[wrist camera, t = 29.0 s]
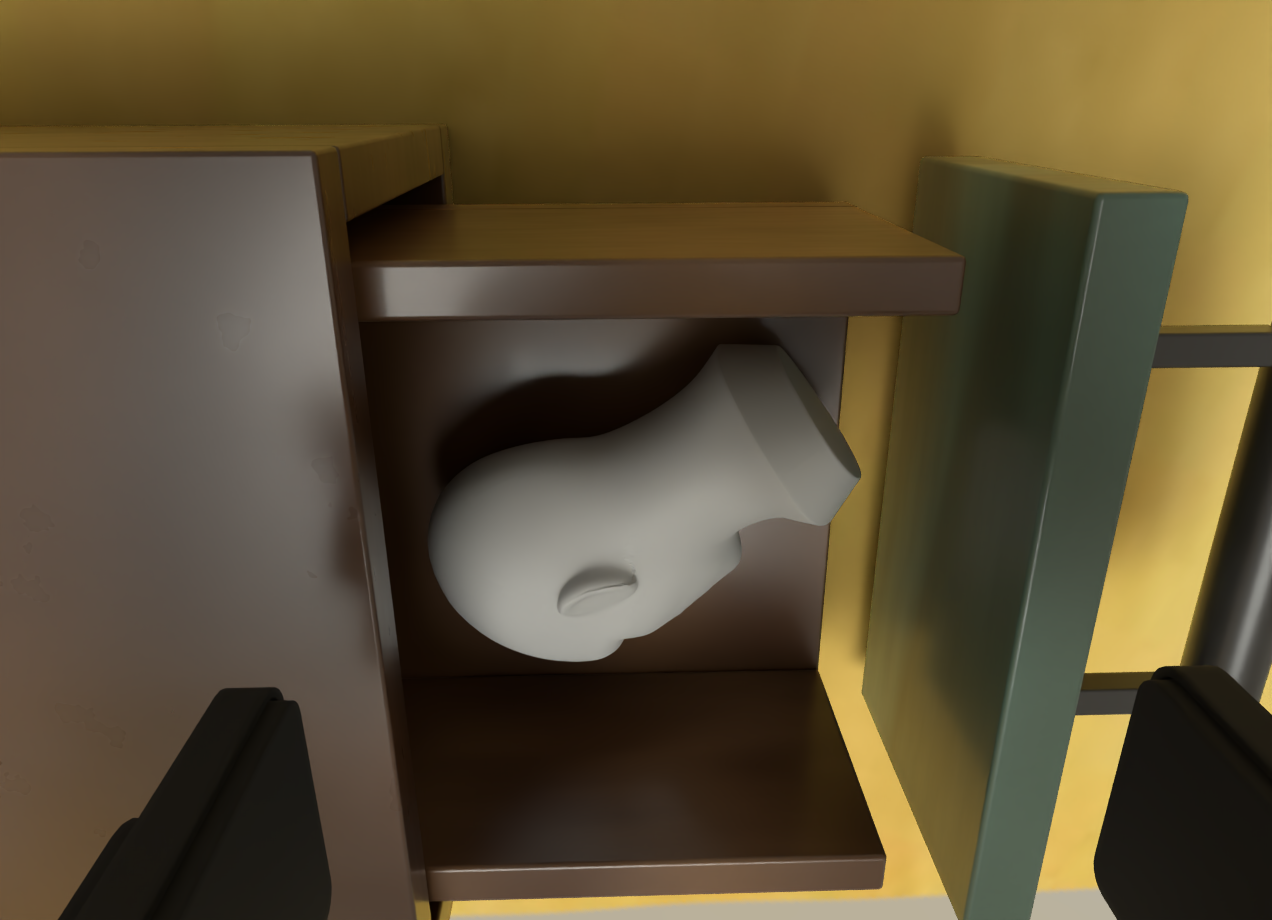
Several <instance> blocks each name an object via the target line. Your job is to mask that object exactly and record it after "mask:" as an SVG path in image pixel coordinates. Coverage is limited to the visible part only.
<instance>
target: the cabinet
mask: <svg viewBox="0 0 1272 920" xmlns="http://www.w3.org/2000/svg"><path fill="white" fill-rule="evenodd" d="M446 204H453V191H452V178H451V165H450V152H449V139H448V128H447V125H445V124H340V125H133V126H0V920H58V918H59V917H60V915H61V914H62V912H63V911H64V909H65V908H66V906H67V905H68V903H69V901H70V900H71V898H72V897H73V895H74V894H75V892H76V891H77V889H78V888H79V886H80V885H81V883H82V881H83V880H84V878H85V877H86V875H87V874H88V872H89V871H90V869H91V868H92V866H93V865H94V863H95V861H96V860H97V858H98V857H99V855H100V854H101V852H102V851H103V849H104V848H105V846H106V844H107V843H108V841H109V840H110V838H111V837H112V836H113V834H114V833H115V832H116V831H117V830H118V828H119V827H120V826H121V825H122V824H123V823H125V822H126V821H128V820H130V819H131V818H139V816H140V814H141V813H142V811H143V810H144V808H145V806H146V805H147V803H148V802H149V800H150V799H151V797H152V795H153V794H154V792H155V791H156V789H157V787H158V786H159V784H160V783H161V781H162V779H163V778H164V776H165V775H166V773H167V772H168V770H169V768H170V767H171V765H172V764H173V762H174V760H175V759H176V757H177V756H178V754H179V752H180V751H181V749H182V748H183V746H184V745H185V743H186V741H187V740H188V738H189V737H190V735H191V733H192V732H193V730H194V729H195V727H196V725H197V724H198V722H199V721H200V719H201V718H202V716H203V714H204V713H205V711H206V710H207V708H208V706H209V705H210V703H211V702H212V700H213V698H214V697H215V696H216V694H217V693H218V692H219V691H220V690H222V689H224V688H251V687H276V688H278V689H279V690H280V691H281V693H282V695H283V698H284V700H294V701H296V702H297V703H298V705H299V708H300V711H301V716H302V722H303V727H304V733H305V738H306V744H307V749H308V755H309V760H310V766H311V771H312V777H313V782H314V788H315V793H316V799H317V804H318V810H319V815H320V821H321V826H322V832H323V837H324V843H325V848H326V853H327V859H328V864H329V870H330V875H331V883H332V896H331V905H330V910H329V915H328V918H327V920H449V919H450V914H451V908H452V903H453V901H434V902H429V898H428V889H427V881H426V873H425V865H424V857H423V848H422V840H421V832H420V824H419V816H418V807H417V799H416V791H415V783H414V775H413V767H412V758H411V750H410V742H409V734H408V726H407V717H406V709H405V701H404V693H403V685H402V676H401V668H400V660H399V652H398V644H397V635H396V627H395V619H394V611H393V603H392V595H391V586H390V578H389V570H388V562H387V554H386V545H385V537H384V529H383V521H382V513H381V504H380V496H379V488H378V480H377V472H376V463H375V455H374V447H373V439H372V431H371V423H370V414H369V406H368V398H367V390H366V382H365V373H364V365H363V357H362V349H361V341H360V332H359V324H358V316H357V308H356V300H355V292H354V283H353V275H352V267H351V259H350V251H349V242H348V234H347V226H346V222H348V221H350V220H352V219H354V218H356V217H358V216H360V215H362V214H364V213H366V212H368V211H370V210H372V209H374V208H376V207H378V206H380V205H446Z"/></svg>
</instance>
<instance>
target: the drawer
mask: <svg viewBox="0 0 1272 920" xmlns="http://www.w3.org/2000/svg"><path fill="white" fill-rule="evenodd" d="M1187 205H1188V195H1187V194H1186V193H1184V192H1182V191H1178V190H1172V189H1166V188H1160V187H1154V186H1148V185H1143V184H1137V183H1131V182H1125V181H1119V180H1113V179H1108V178H1102V177H1096V176H1090V175H1084V174H1078V173H1073V172H1067V171H1061V170H1055V169H1049V168H1044V167H1038V166H1032V165H1026V164H1020V163H1014V162H1009V161H1003V160H997V159H991V158H985V157H979V156H925V157H923V158H921V161H920V166H919V175H918V184H917V193H916V202H915V212H914V221H913V230H912V232H910V231H908V230H905V229H903V228H901V227H899V226H897V225H894V224H892V223H890V222H888V221H886V220H884V219H881V218H879V217H877V216H875V215H873V214H871V213H868V212H866V211H864V210H862V209H860V208H857V206H854V205H852V204H850V203H848V202H724V203H585V204H446V205H380V206H378V207H376V208H374V209H372V210H370V211H368V212H366V213H364V214H362V215H360V216H358V217H356V218H354V219H352V220H350V221H348V222H346V226H347V234H348V242H349V251H350V259H351V267H352V275H353V283H354V292H355V300H356V308H357V316H358V324H359V332H360V341H361V349H362V357H363V365H364V373H365V382H366V390H367V398H368V406H369V414H370V423H371V431H372V439H373V447H374V455H375V463H376V472H377V480H378V488H379V496H380V504H381V513H382V521H383V529H384V537H385V545H386V554H387V562H388V570H389V578H390V586H391V595H392V603H393V611H394V619H395V627H396V635H397V644H398V652H399V660H400V668H401V676H402V685H403V693H404V701H405V709H406V717H407V726H408V734H409V742H410V750H411V758H412V767H413V775H414V783H415V791H416V799H417V807H418V816H419V824H420V832H421V840H422V848H423V857H424V865H425V873H426V881H427V889H428V898H429V902H434V901H470V900H506V899H543V898H579V897H615V896H651V895H688V894H724V893H760V892H796V891H833V890H869V889H880V888H882V886H883V879H884V871H885V864H886V854H885V851H884V849H883V846H882V843H881V840H880V838H879V835H878V832H877V830H876V827H875V824H874V821H873V819H872V816H871V813H870V810H869V808H868V805H867V802H866V800H865V797H864V794H863V791H862V789H861V786H860V783H859V780H858V778H857V775H856V772H855V769H854V767H853V764H852V761H851V759H850V756H849V753H848V750H847V748H846V745H845V742H844V739H843V737H842V734H841V731H840V728H839V726H838V723H837V720H836V718H835V715H834V712H833V709H832V707H831V704H830V701H829V698H828V696H827V693H826V690H825V688H824V685H823V682H822V679H821V677H820V674H819V671H818V662H819V651H820V639H821V628H822V616H823V605H824V593H825V582H826V570H827V559H828V547H829V536H830V524H831V521H830V522H829V523H828V524H827V525H823V526H818V525H813V524H808V523H803V522H799V521H794V520H790V519H786V518H772V519H767V520H763V521H759V522H756V523H754V524H751V525H749V526H747V527H745V528H743V529H741V530H739V535H740V539H741V545H742V554H741V559H740V561H739V563H738V565H737V566H736V567H735V569H733V570H732V571H731V572H729V573H728V574H727V575H726V576H724V577H723V578H722V579H721V580H719V581H718V582H717V583H716V584H714V585H713V586H712V587H711V588H710V589H709V590H708V591H707V592H706V593H704V594H703V595H702V596H701V597H699V598H698V599H697V600H696V601H694V602H693V603H692V604H691V605H690V606H689V607H687V608H686V609H685V610H684V611H683V612H682V613H681V614H679V615H678V616H676V617H674V618H673V619H671V620H670V621H668V622H667V623H666V624H664V625H663V626H661V627H660V628H658V629H657V630H655V631H654V632H652V633H650V634H647V635H644V636H640V637H635V638H628V639H624V640H623V642H622V643H621V645H620V646H619V648H618V649H617V650H616V651H615V652H613V653H612V654H610V655H608V656H607V657H604V658H602V659H598V660H593V661H580V662H570V661H557V660H548V659H543V658H538V657H534V656H530V655H526V654H523V653H520V652H517V651H514V650H512V649H509V648H507V647H505V646H503V645H501V644H499V643H497V642H495V641H493V640H491V639H490V638H488V637H487V636H485V635H484V634H482V633H481V632H479V631H478V630H477V629H475V628H474V627H473V626H472V625H471V624H469V623H468V622H467V621H466V620H465V619H464V618H463V617H462V616H461V615H460V614H459V613H458V612H457V611H456V610H455V609H454V607H453V606H452V605H451V604H450V602H449V601H448V599H447V597H446V596H445V594H444V593H443V591H442V589H441V587H440V585H439V583H438V581H437V579H436V576H435V574H434V571H433V568H432V565H431V562H430V558H429V551H428V527H429V522H430V518H431V514H432V511H433V508H434V506H435V504H436V502H437V499H438V498H439V496H440V494H441V493H442V491H443V490H444V488H445V487H446V486H447V485H448V484H449V482H450V481H451V480H452V479H453V478H454V477H455V476H456V475H457V474H459V473H460V472H461V471H462V470H463V469H465V468H466V467H468V466H469V465H470V464H472V463H474V462H476V461H477V460H479V459H481V458H483V457H486V456H488V455H490V454H493V453H496V452H499V451H502V450H505V449H508V448H512V447H516V446H520V445H524V444H529V443H534V442H540V441H546V440H554V439H564V438H583V437H593V436H598V435H602V434H605V433H608V432H611V431H613V430H616V429H618V428H620V427H623V426H625V425H627V424H629V423H631V422H633V421H635V420H637V419H639V418H641V417H642V416H644V415H646V414H648V413H649V412H651V411H653V410H654V409H656V408H658V407H659V406H661V405H662V404H664V403H665V402H667V401H668V400H670V399H671V398H672V397H674V396H675V395H676V394H678V393H679V392H680V391H681V390H682V389H684V388H685V387H686V386H687V385H688V384H689V383H690V382H691V381H692V380H693V379H694V378H695V377H696V376H697V374H698V373H699V372H700V371H701V369H702V368H703V367H704V365H705V364H706V362H707V361H708V360H709V358H710V357H711V355H712V354H713V352H714V351H715V349H716V348H717V346H718V345H720V344H743V345H777V346H780V347H781V348H782V349H783V350H784V351H785V352H786V353H787V355H788V356H789V357H790V358H791V359H792V361H793V362H794V363H795V365H796V366H797V367H798V369H799V370H800V371H801V373H802V374H803V376H804V377H805V378H806V380H807V381H808V383H809V384H810V386H811V387H812V388H813V390H814V391H815V393H816V394H817V396H818V397H819V399H820V400H821V402H822V403H823V405H824V406H825V408H826V409H827V411H828V412H829V414H830V415H831V417H832V418H833V420H834V422H835V423H836V425H837V426H838V428H839V420H840V409H841V397H842V386H843V374H844V362H845V351H846V339H847V328H848V317H858V316H903V321H902V330H901V339H900V348H899V357H898V366H897V375H896V385H895V394H894V403H893V412H892V421H891V430H890V439H889V448H888V457H887V466H886V476H885V485H884V494H883V503H882V512H881V521H880V530H879V539H878V548H877V558H876V567H875V576H874V585H873V594H872V603H871V612H870V621H869V630H868V639H867V649H866V658H865V667H864V676H863V685H862V694H863V697H864V699H865V702H866V704H867V706H868V709H869V711H870V713H871V716H872V718H873V720H874V723H875V725H876V727H877V730H878V732H879V735H880V737H881V739H882V742H883V744H884V746H885V749H886V751H887V753H888V756H889V758H890V760H891V763H892V765H893V767H894V770H895V772H896V775H897V777H898V779H899V782H900V784H901V786H902V789H903V791H904V793H905V796H906V798H907V800H908V803H909V805H910V807H911V810H912V812H913V815H914V817H915V819H916V822H917V824H918V826H919V829H920V831H921V833H922V836H923V838H924V840H925V843H926V845H927V847H928V850H929V852H930V855H931V857H932V859H933V862H934V864H935V866H936V869H937V871H938V873H939V876H940V878H941V880H942V883H943V885H944V887H945V890H946V892H947V895H948V897H949V899H950V902H951V904H952V906H953V909H954V911H955V913H956V916H957V918H958V920H1030V917H1031V913H1032V908H1033V903H1034V898H1035V894H1036V890H1037V885H1038V881H1039V876H1040V872H1041V867H1042V863H1043V858H1044V854H1045V849H1046V844H1047V840H1048V835H1049V831H1050V826H1051V822H1052V817H1053V813H1054V808H1055V804H1056V799H1057V795H1058V790H1059V785H1060V781H1061V776H1062V772H1063V767H1064V763H1065V758H1066V754H1067V749H1068V745H1069V740H1070V736H1071V731H1072V726H1073V722H1074V717H1075V715H1111V714H1132V710H1133V706H1134V702H1135V698H1136V694H1137V691H1138V688H1139V686H1140V685H1141V684H1142V683H1143V682H1144V681H1147V680H1151V677H1152V675H1153V673H1154V672H1116V673H1084V672H1085V667H1086V663H1087V658H1088V654H1089V649H1090V645H1091V640H1092V636H1093V631H1094V627H1095V622H1096V618H1097V613H1098V608H1099V604H1100V599H1101V595H1102V590H1103V586H1104V581H1105V577H1106V572H1107V568H1108V563H1109V559H1110V554H1111V549H1112V545H1113V540H1114V536H1115V531H1116V527H1117V522H1118V518H1119V513H1120V509H1121V504H1122V500H1123V495H1124V490H1125V486H1126V481H1127V477H1128V472H1129V468H1130V463H1131V459H1132V454H1133V450H1134V445H1135V441H1136V436H1137V431H1138V427H1139V422H1140V418H1141V413H1142V409H1143V404H1144V400H1145V395H1146V391H1147V386H1148V382H1149V377H1150V372H1151V368H1214V367H1260V368H1259V371H1258V375H1257V379H1256V383H1255V386H1254V390H1253V394H1252V398H1251V401H1250V405H1249V409H1248V413H1247V416H1246V420H1245V424H1244V428H1243V431H1242V435H1241V439H1240V443H1239V446H1238V450H1237V454H1236V458H1235V461H1234V465H1233V469H1232V472H1231V476H1230V480H1229V484H1228V487H1227V491H1226V495H1225V499H1224V502H1223V506H1222V510H1221V514H1220V517H1219V521H1218V525H1217V529H1216V532H1215V536H1214V540H1213V544H1212V547H1211V551H1210V555H1209V559H1208V562H1207V566H1206V570H1205V574H1204V577H1203V581H1202V585H1201V588H1200V592H1199V596H1198V600H1197V603H1196V607H1195V611H1194V615H1193V618H1192V622H1191V626H1190V630H1189V633H1188V637H1187V641H1186V645H1185V648H1184V652H1183V656H1182V660H1181V663H1180V666H1201V665H1212V666H1217V667H1220V668H1221V669H1223V670H1224V671H1226V672H1227V673H1228V674H1229V675H1230V676H1231V677H1232V678H1233V679H1235V680H1236V681H1237V682H1238V683H1239V684H1240V685H1241V686H1242V687H1243V688H1244V689H1245V690H1246V691H1247V692H1248V693H1249V694H1250V695H1251V696H1252V697H1253V698H1255V699H1256V700H1257V701H1258V702H1260V699H1261V696H1262V693H1263V689H1264V686H1265V683H1266V680H1267V677H1268V674H1269V670H1270V667H1271V664H1272V323H1271V326H1269V325H1195V326H1161V323H1162V318H1163V313H1164V309H1165V304H1166V300H1167V295H1168V291H1169V286H1170V282H1171V277H1172V273H1173V268H1174V264H1175V259H1176V254H1177V250H1178V245H1179V241H1180V236H1181V232H1182V227H1183V223H1184V218H1185V214H1186V209H1187Z"/></svg>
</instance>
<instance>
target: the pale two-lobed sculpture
mask: <svg viewBox="0 0 1272 920" xmlns="http://www.w3.org/2000/svg"><path fill="white" fill-rule="evenodd" d="M860 478H861V471H860V468H859V466H858V463H857V461H856V459H855V457H854V455H853V453H852V451H851V449H850V447H849V445H848V444H847V442H846V440H845V438H844V437H843V435H842V433H841V431H840V430H839V428H838V426H837V425H836V423H835V422H834V420H833V418H832V417H831V415H830V414H829V412H828V411H827V409H826V408H825V406H824V405H823V403H822V402H821V400H820V399H819V397H818V396H817V394H816V393H815V391H814V390H813V388H812V387H811V386H810V384H809V383H808V381H807V380H806V378H805V377H804V376H803V374H802V373H801V371H800V370H799V369H798V367H797V366H796V365H795V363H794V362H793V361H792V359H791V358H790V357H789V356H788V355H787V353H786V352H785V351H784V350H783V349H782V348H781V347H780V346H777V345H743V344H720V345H718V346H717V348H716V349H715V351H714V352H713V354H712V355H711V357H710V358H709V360H708V361H707V362H706V364H705V365H704V367H703V368H702V369H701V371H700V372H699V373H698V374H697V376H696V377H695V378H694V379H693V380H692V381H691V382H690V383H689V384H688V385H687V386H686V387H685V388H684V389H682V390H681V391H680V392H679V393H678V394H676V395H675V396H674V397H672V398H671V399H670V400H668V401H667V402H665V403H664V404H662V405H661V406H659V407H658V408H656V409H654V410H653V411H651V412H649V413H648V414H646V415H644V416H642V417H641V418H639V419H637V420H635V421H633V422H631V423H629V424H627V425H625V426H623V427H620V428H618V429H616V430H613V431H611V432H608V433H605V434H602V435H598V436H593V437H583V438H564V439H554V440H546V441H540V442H534V443H529V444H524V445H520V446H516V447H512V448H508V449H505V450H502V451H499V452H496V453H493V454H490V455H488V456H486V457H483V458H481V459H479V460H477V461H476V462H474V463H472V464H470V465H469V466H468V467H466V468H465V469H463V470H462V471H461V472H460V473H459V474H457V475H456V476H455V477H454V478H453V479H452V480H451V481H450V482H449V484H448V485H447V486H446V487H445V488H444V490H443V491H442V493H441V494H440V496H439V498H438V499H437V502H436V504H435V506H434V508H433V511H432V514H431V518H430V522H429V527H428V551H429V558H430V562H431V565H432V568H433V571H434V574H435V576H436V579H437V581H438V583H439V585H440V587H441V589H442V591H443V593H444V594H445V596H446V597H447V599H448V601H449V602H450V604H451V605H452V606H453V607H454V609H455V610H456V611H457V612H458V613H459V614H460V615H461V616H462V617H463V618H464V619H465V620H466V621H467V622H468V623H469V624H471V625H472V626H473V627H474V628H475V629H477V630H478V631H479V632H481V633H482V634H484V635H485V636H487V637H488V638H490V639H491V640H493V641H495V642H497V643H499V644H501V645H503V646H505V647H507V648H509V649H512V650H514V651H517V652H520V653H523V654H526V655H530V656H534V657H538V658H543V659H548V660H557V661H570V662H580V661H593V660H598V659H602V658H604V657H607V656H608V655H610V654H612V653H613V652H615V651H616V650H617V649H618V648H619V646H620V645H621V643H622V642H623V640H624V639H628V638H635V637H640V636H644V635H647V634H650V633H652V632H654V631H655V630H657V629H658V628H660V627H661V626H663V625H664V624H666V623H667V622H668V621H670V620H671V619H673V618H674V617H676V616H678V615H679V614H681V613H682V612H683V611H684V610H685V609H686V608H687V607H689V606H690V605H691V604H692V603H693V602H694V601H696V600H697V599H698V598H699V597H701V596H702V595H703V594H704V593H706V592H707V591H708V590H709V589H710V588H711V587H712V586H713V585H714V584H716V583H717V582H718V581H719V580H721V579H722V578H723V577H724V576H726V575H727V574H728V573H729V572H731V571H732V570H733V569H735V567H736V566H737V565H738V563H739V561H740V559H741V554H742V545H741V539H740V535H739V530H741V529H743V528H745V527H747V526H749V525H751V524H754V523H756V522H759V521H763V520H767V519H772V518H786V519H790V520H794V521H799V522H803V523H808V524H813V525H818V526H823V525H827V524H828V523H829V522H830V521H831V520H832V519H833V517H834V516H835V514H836V513H837V511H838V510H839V509H840V507H841V506H842V504H843V503H844V501H845V500H846V498H847V497H848V495H849V494H850V493H851V491H852V490H853V488H854V487H855V485H856V484H857V482H858V481H859V479H860Z"/></svg>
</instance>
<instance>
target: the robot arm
mask: <svg viewBox="0 0 1272 920" xmlns="http://www.w3.org/2000/svg"><path fill="white" fill-rule="evenodd" d="M1094 873H1095V878H1096V882H1097V885H1098V887H1099V890H1100V892H1101V894H1102V896H1103V897H1104V899H1105V901H1106V902H1107V904H1108V905H1109V907H1110V909H1111V910H1112V912H1113V914H1114V915H1115V917H1116V918H1117V920H1272V715H1271V714H1270V713H1269V712H1268V711H1267V710H1266V709H1265V708H1264V707H1263V706H1262V705H1261V704H1260V703H1259V702H1258V701H1257V700H1256V699H1255V698H1253V697H1252V696H1251V695H1250V694H1249V693H1248V692H1247V691H1246V690H1245V689H1244V688H1243V687H1242V686H1241V685H1240V684H1239V683H1238V682H1237V681H1236V680H1235V679H1233V678H1232V677H1231V676H1230V675H1229V674H1228V673H1227V672H1226V671H1224V670H1223V669H1221V668H1220V667H1217V666H1212V665H1201V666H1164V667H1161V668H1158V669H1157V670H1156V671H1155V672H1154V673H1153V675H1152V677H1151V680H1147V681H1144V682H1143V683H1142V684H1141V685H1140V686H1139V688H1138V691H1137V694H1136V698H1135V702H1134V706H1133V710H1132V714H1131V717H1130V721H1129V725H1128V729H1127V733H1126V737H1125V741H1124V744H1123V748H1122V752H1121V756H1120V760H1119V764H1118V767H1117V771H1116V775H1115V779H1114V783H1113V787H1112V791H1111V794H1110V798H1109V802H1108V806H1107V810H1106V814H1105V817H1104V821H1103V825H1102V829H1101V833H1100V837H1099V841H1098V844H1097V848H1096V852H1095V856H1094ZM331 896H332V883H331V875H330V870H329V864H328V859H327V853H326V848H325V843H324V837H323V832H322V826H321V821H320V815H319V810H318V804H317V799H316V793H315V788H314V782H313V777H312V771H311V766H310V760H309V755H308V749H307V744H306V738H305V733H304V727H303V722H302V716H301V711H300V708H299V705H298V703H297V702H296V701H294V700H284V698H283V695H282V693H281V691H280V690H279V689H278V688H276V687H251V688H224V689H222V690H220V691H219V692H218V693H217V694H216V696H215V697H214V698H213V700H212V702H211V703H210V705H209V706H208V708H207V710H206V711H205V713H204V714H203V716H202V718H201V719H200V721H199V722H198V724H197V725H196V727H195V729H194V730H193V732H192V733H191V735H190V737H189V738H188V740H187V741H186V743H185V745H184V746H183V748H182V749H181V751H180V752H179V754H178V756H177V757H176V759H175V760H174V762H173V764H172V765H171V767H170V768H169V770H168V772H167V773H166V775H165V776H164V778H163V779H162V781H161V783H160V784H159V786H158V787H157V789H156V791H155V792H154V794H153V795H152V797H151V799H150V800H149V802H148V803H147V805H146V806H145V808H144V810H143V811H142V813H141V814H140V816H139V818H131V819H130V820H128V821H126V822H125V823H123V824H122V825H121V826H120V827H119V828H118V830H117V831H116V832H115V833H114V834H113V836H112V837H111V838H110V840H109V841H108V843H107V844H106V846H105V848H104V849H103V851H102V852H101V854H100V855H99V857H98V858H97V860H96V861H95V863H94V865H93V866H92V868H91V869H90V871H89V872H88V874H87V875H86V877H85V878H84V880H83V881H82V883H81V885H80V886H79V888H78V889H77V891H76V892H75V894H74V895H73V897H72V898H71V900H70V901H69V903H68V905H67V906H66V908H65V909H64V911H63V912H62V914H61V915H60V917H59V918H58V920H327V918H328V915H329V910H330V905H331Z"/></svg>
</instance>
